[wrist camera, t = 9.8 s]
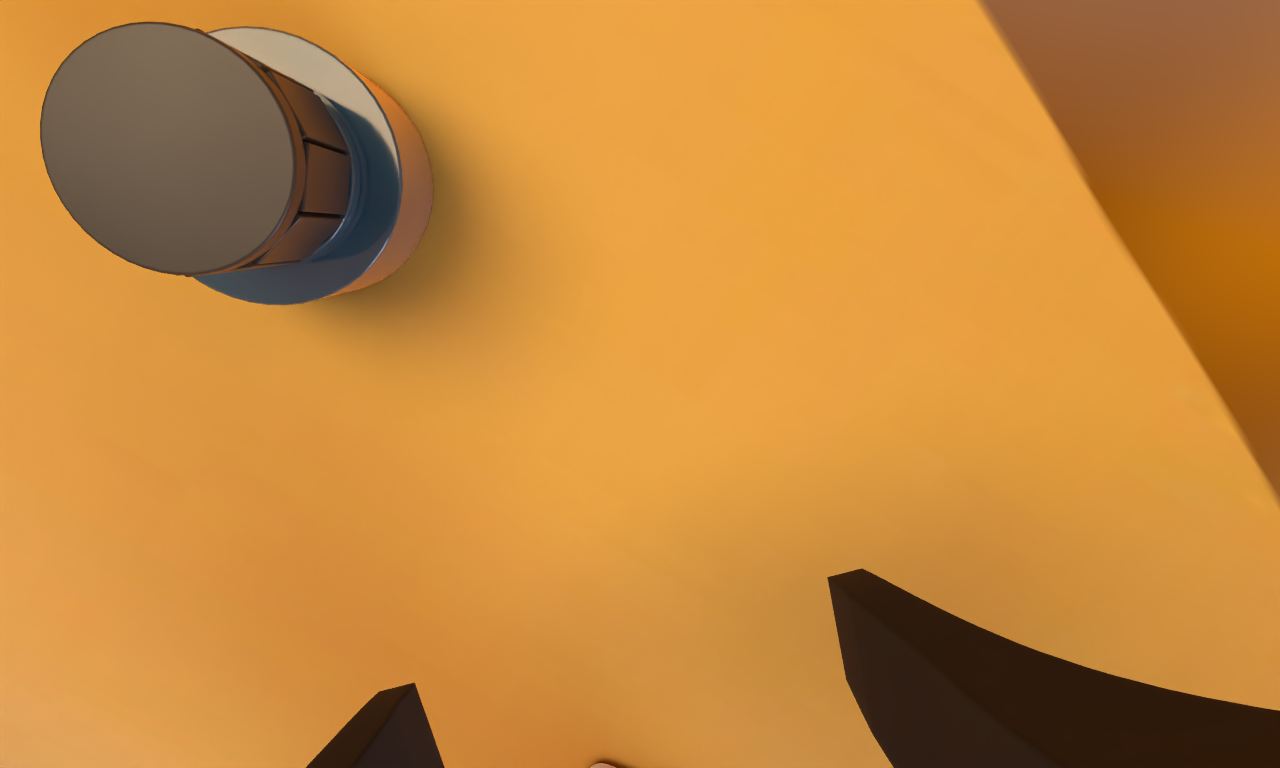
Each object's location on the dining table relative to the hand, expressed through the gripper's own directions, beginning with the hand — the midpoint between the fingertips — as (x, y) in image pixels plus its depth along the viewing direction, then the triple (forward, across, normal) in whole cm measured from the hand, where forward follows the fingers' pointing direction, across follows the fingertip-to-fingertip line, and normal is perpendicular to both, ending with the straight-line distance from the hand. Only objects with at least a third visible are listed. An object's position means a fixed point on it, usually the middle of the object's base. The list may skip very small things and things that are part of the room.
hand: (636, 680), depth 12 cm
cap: (+6, +6, -10) cm, 13 cm away
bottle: (+10, +6, -10) cm, 15 cm away
